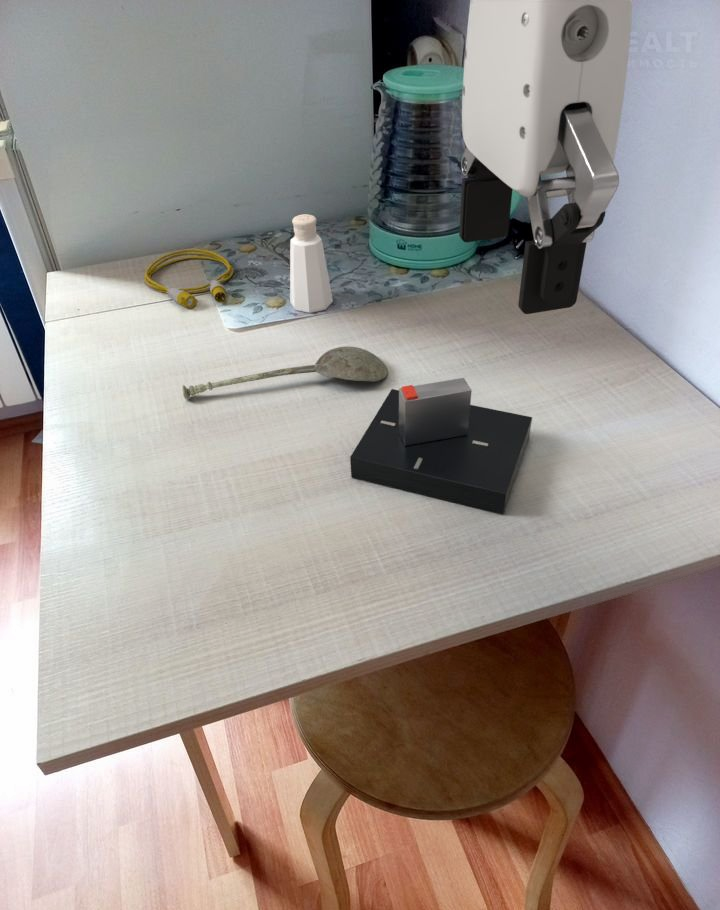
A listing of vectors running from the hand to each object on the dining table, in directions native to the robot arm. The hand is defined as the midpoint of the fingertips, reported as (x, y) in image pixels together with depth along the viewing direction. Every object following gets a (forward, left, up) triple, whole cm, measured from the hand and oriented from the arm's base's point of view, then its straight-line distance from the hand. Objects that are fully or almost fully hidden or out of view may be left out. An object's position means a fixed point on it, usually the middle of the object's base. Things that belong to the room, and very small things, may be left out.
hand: (512, 270), depth 43 cm
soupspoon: (+25, -15, -24) cm, 38 cm away
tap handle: (+7, -9, -21) cm, 24 cm away
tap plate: (+6, -9, -24) cm, 26 cm away
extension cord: (+48, -32, -24) cm, 62 cm away
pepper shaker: (+30, -32, -24) cm, 50 cm away
